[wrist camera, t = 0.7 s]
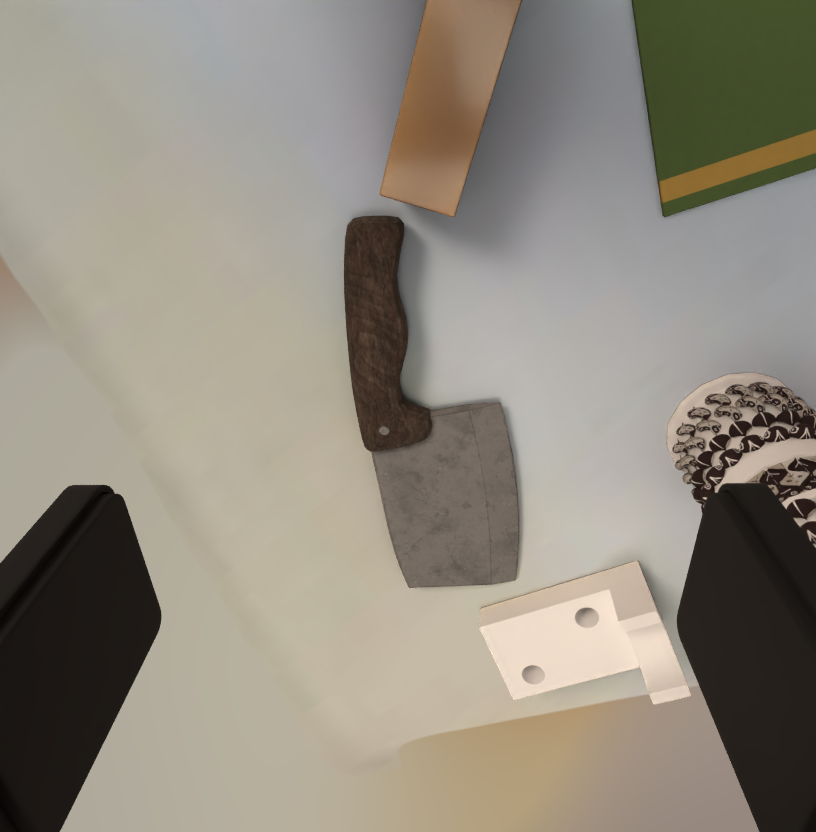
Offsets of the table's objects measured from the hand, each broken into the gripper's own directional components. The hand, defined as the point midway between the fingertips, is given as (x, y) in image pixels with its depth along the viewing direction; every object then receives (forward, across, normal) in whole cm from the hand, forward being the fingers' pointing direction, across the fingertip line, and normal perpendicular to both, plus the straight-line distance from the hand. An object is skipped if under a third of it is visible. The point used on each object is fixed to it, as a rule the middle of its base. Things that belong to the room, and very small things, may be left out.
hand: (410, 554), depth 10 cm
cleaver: (+29, 0, +15) cm, 33 cm away
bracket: (+29, -10, +32) cm, 44 cm away
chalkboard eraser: (+29, -1, -7) cm, 29 cm away
